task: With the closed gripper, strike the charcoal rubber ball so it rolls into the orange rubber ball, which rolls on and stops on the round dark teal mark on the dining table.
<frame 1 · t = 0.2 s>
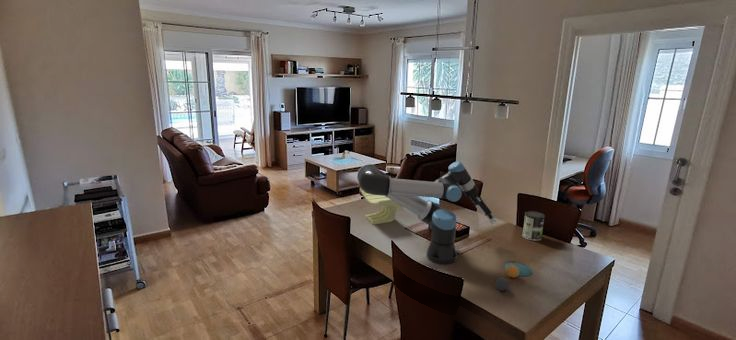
hand: (488, 217, 198), 15 cm above the table, tool tilted 35°, fingers open, 13 cm apart
charcoal ball: (502, 283, 157), on the table
slatted curved stool: (380, 219, 235), on the table
coffee can: (531, 237, 212), on the table
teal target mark: (517, 269, 175), on the table
orange ball: (512, 271, 168), on the table
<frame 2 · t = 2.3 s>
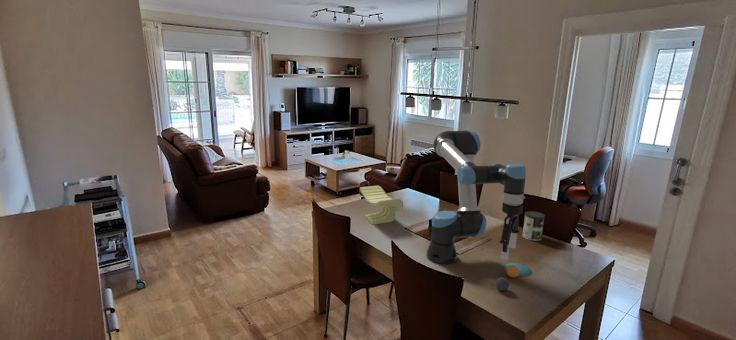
hand: (508, 253, 150), 19 cm above the table, tool pointing down, fingers open, 13 cm apart
nothing on the table moved.
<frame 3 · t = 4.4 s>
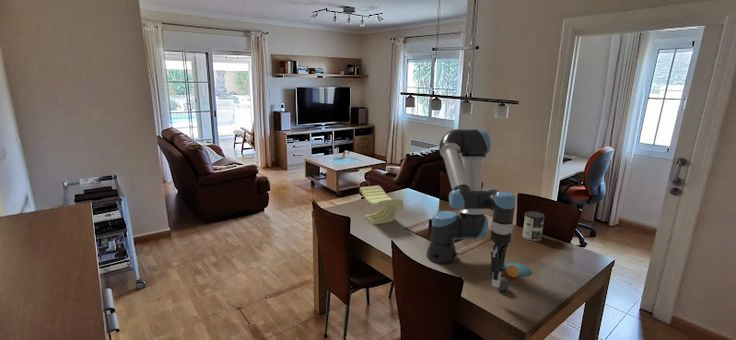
hand: (495, 285, 149), 7 cm above the table, tool pointing down, fingers closed
nothing on the table moved.
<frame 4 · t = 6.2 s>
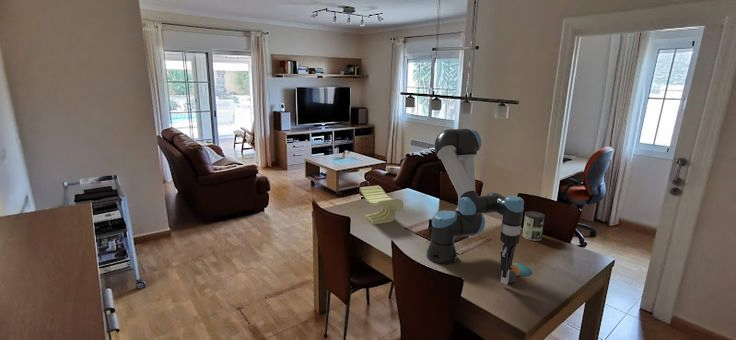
hand: (504, 282, 160), 2 cm above the table, tool pointing down, fingers closed
charcoal ball: (509, 276, 164), on the table
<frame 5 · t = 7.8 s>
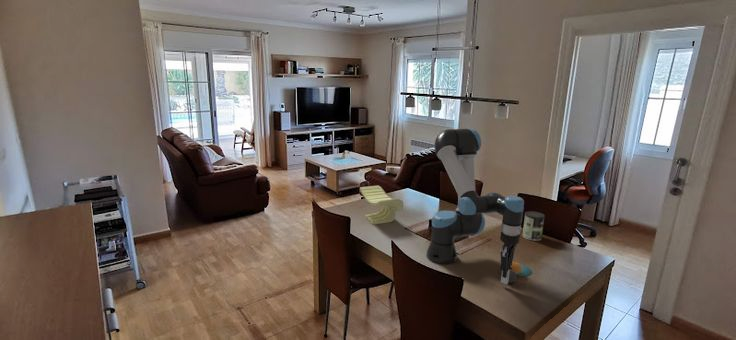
hand: (504, 282, 160), 2 cm above the table, tool pointing down, fingers closed
orange ball: (515, 268, 171), on the table
everything else where it was.
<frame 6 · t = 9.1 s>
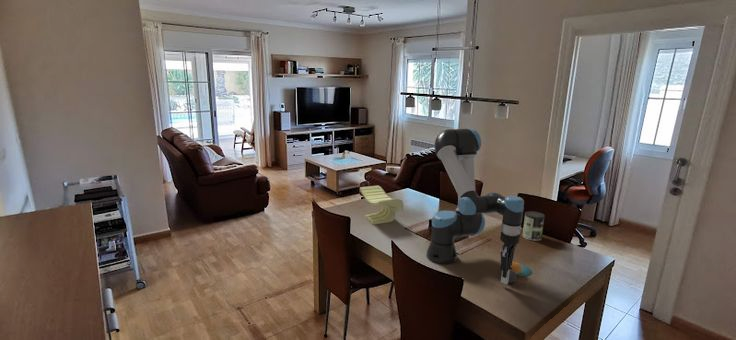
hand: (504, 282, 160), 2 cm above the table, tool pointing down, fingers closed
nothing on the table moved.
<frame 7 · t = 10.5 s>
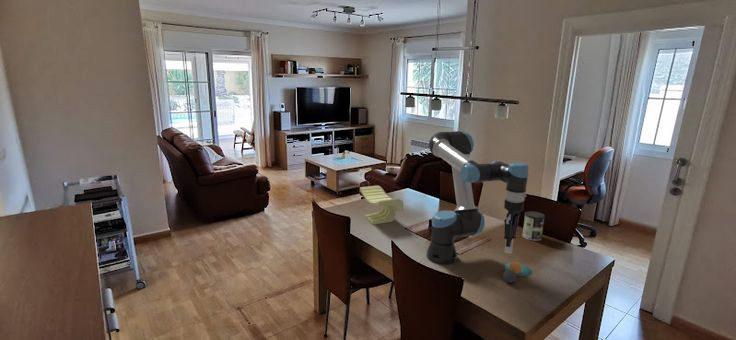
hand: (508, 252, 156), 16 cm above the table, tool pointing down, fingers closed
nothing on the table moved.
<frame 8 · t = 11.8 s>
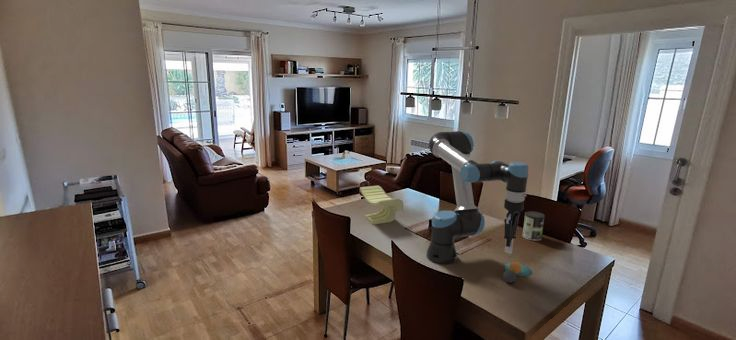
hand: (508, 252, 156), 16 cm above the table, tool pointing down, fingers closed
nothing on the table moved.
at the end: orange ball 4.7 cm from the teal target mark (horizontally); orange ball never touched the robot; charcoal ball first touched orange ball at 6.1 s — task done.
